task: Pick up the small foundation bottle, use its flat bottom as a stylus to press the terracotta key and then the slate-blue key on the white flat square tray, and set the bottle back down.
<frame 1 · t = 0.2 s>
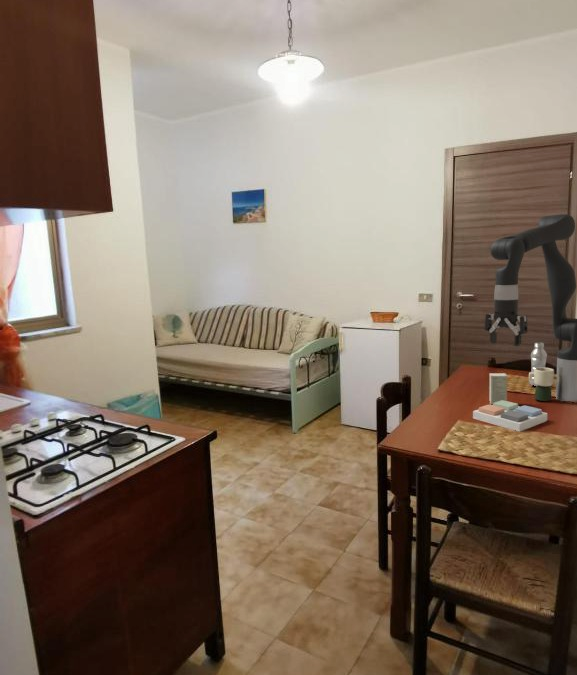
hand: (505, 344, 167), 29 cm above the table, tool pointing down, fingers open, 8 cm apart
key slate: (528, 411, 173), point 3 cm above the table, slide at 0.0 cm
key sage: (505, 405, 180), point 3 cm above the table, slide at 0.0 cm
character mug: (542, 400, 196), on the table
skincare box: (497, 404, 194), on the table
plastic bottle: (537, 387, 215), on the table
white flat square tray: (509, 419, 175), on the table
key terracotta: (491, 410, 176), point 3 cm above the table, slide at 0.0 cm
key charcoal: (514, 416, 168), point 3 cm above the table, slide at 0.0 cm
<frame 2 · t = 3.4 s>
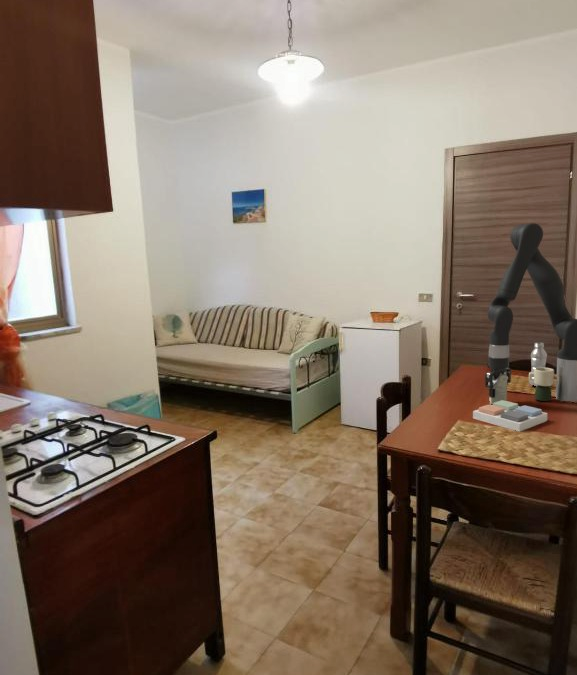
hand: (497, 395, 193), 3 cm above the table, tool pointing down, fingers closed on skincare box, 7 cm apart
skincare box: (497, 404, 194), on the table, touching gripper
everything else where it was.
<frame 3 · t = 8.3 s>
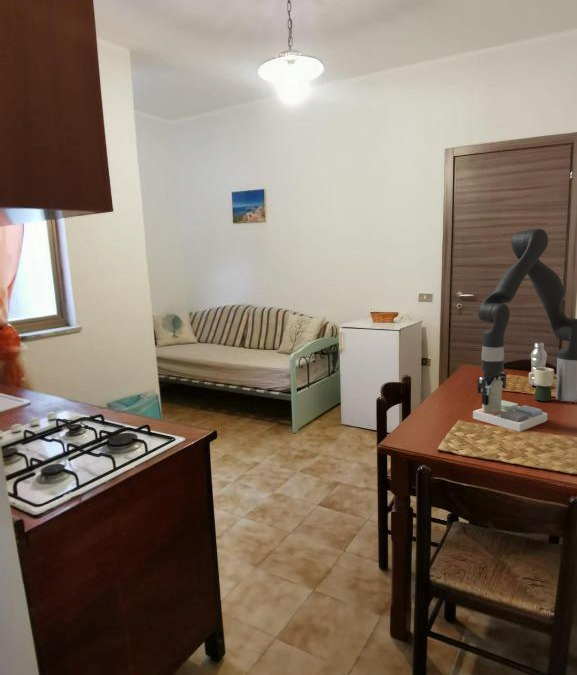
hand: (491, 402, 175), 6 cm above the table, tool pointing down, fingers closed on skincare box, 7 cm apart
skincare box: (491, 411, 176), point 3 cm above the table, touching gripper, key terracotta
key terracotta: (491, 413, 176), point 2 cm above the table, slide at 1.3 cm, touching skincare box
everything else where it was.
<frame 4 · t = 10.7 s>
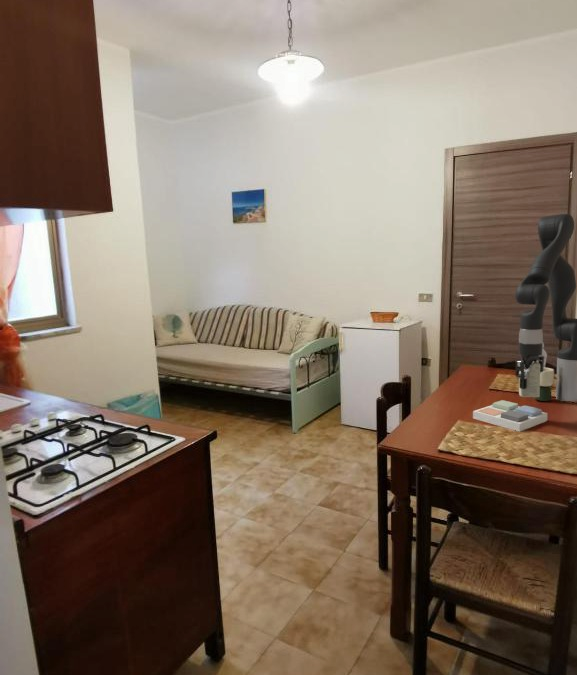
hand: (529, 386, 172), 13 cm above the table, tool pointing down, fingers closed on skincare box, 7 cm apart
skincare box: (528, 396, 172), point 9 cm above the table, touching gripper
key terracotta: (491, 413, 176), point 2 cm above the table, slide at 1.3 cm
everything else where it was.
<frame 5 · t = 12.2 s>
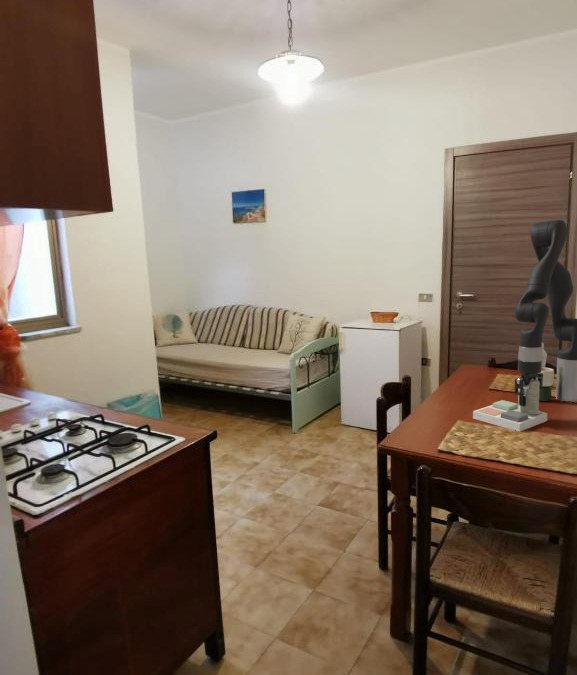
hand: (528, 403, 172), 6 cm above the table, tool pointing down, fingers closed on skincare box, 7 cm apart
key slate: (528, 415, 173), point 2 cm above the table, slide at 1.4 cm, touching skincare box
skincare box: (527, 413, 173), point 3 cm above the table, touching gripper, key slate, white flat square tray
everything else where it was.
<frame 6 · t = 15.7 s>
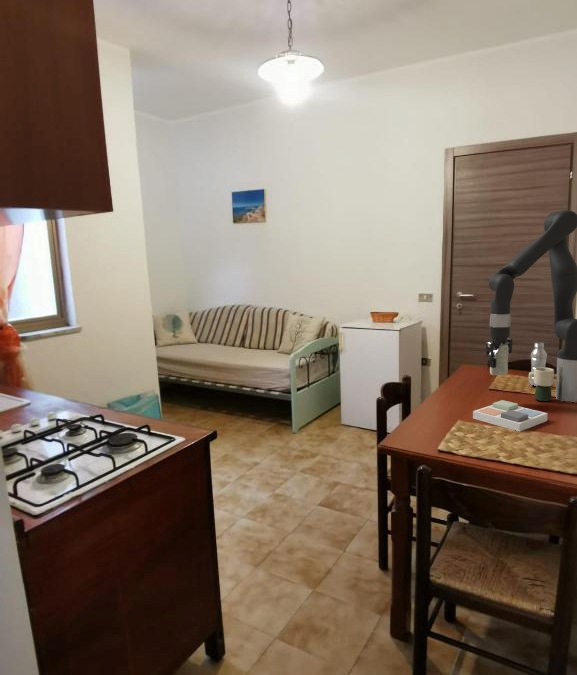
hand: (498, 365, 191), 16 cm above the table, tool pointing down, fingers closed on skincare box, 7 cm apart
key slate: (528, 414, 173), point 2 cm above the table, slide at 1.3 cm
skincare box: (498, 374, 192), point 12 cm above the table, touching gripper
everything else where it was.
when the fingers open (4 cm above the table, at t = 18.2 s): skincare box stays where it is, on the table.
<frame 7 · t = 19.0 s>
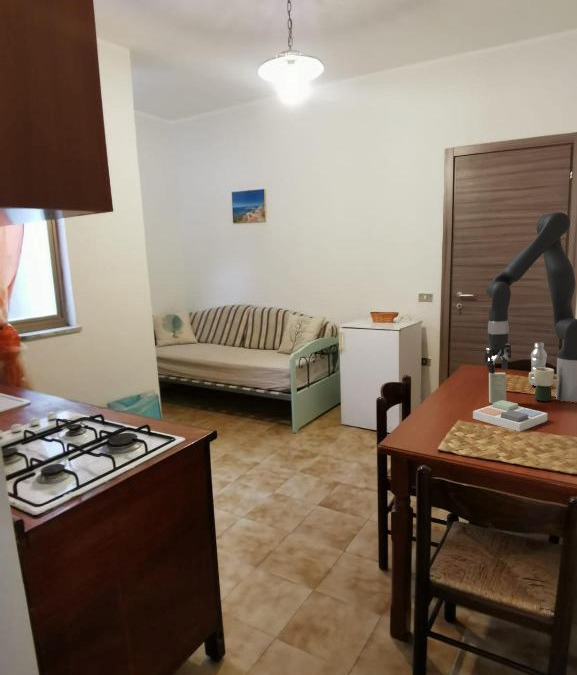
hand: (498, 371, 194), 13 cm above the table, tool pointing down, fingers open, 8 cm apart
skincare box: (497, 403, 194), on the table
everything else where it was.
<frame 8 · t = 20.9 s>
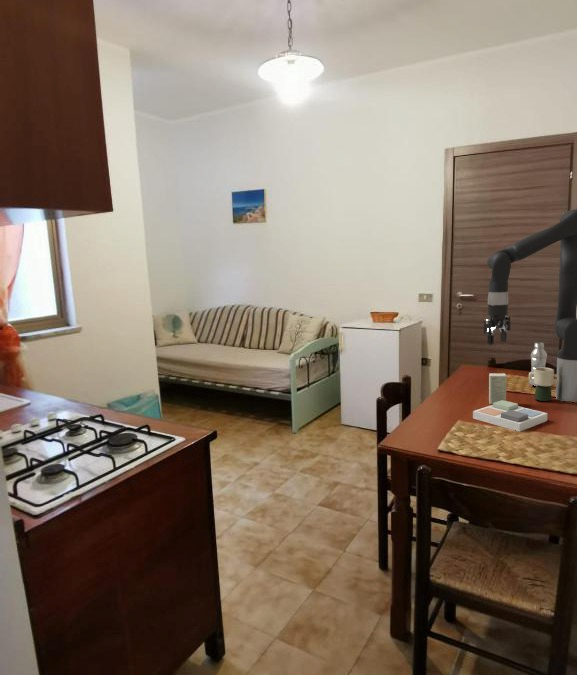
hand: (496, 343, 194), 24 cm above the table, tool pointing down, fingers open, 8 cm apart
at the end: key terracotta slide at 1.3 cm; key slate slide at 1.3 cm; key charcoal slide at 0.0 cm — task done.
